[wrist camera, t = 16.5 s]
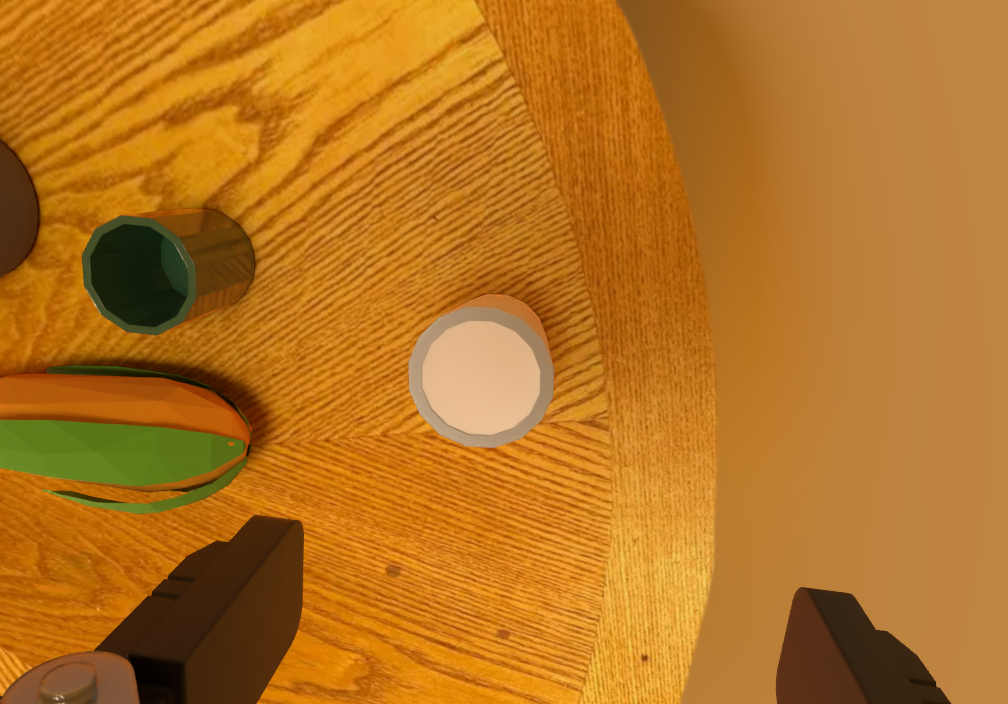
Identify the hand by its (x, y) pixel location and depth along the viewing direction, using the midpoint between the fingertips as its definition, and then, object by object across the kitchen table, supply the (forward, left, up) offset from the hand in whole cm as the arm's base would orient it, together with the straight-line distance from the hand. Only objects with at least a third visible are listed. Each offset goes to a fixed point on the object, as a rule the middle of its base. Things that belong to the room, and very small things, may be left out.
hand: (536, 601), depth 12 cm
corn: (+26, +10, -28) cm, 40 cm away
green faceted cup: (+20, 0, -28) cm, 34 cm away
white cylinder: (+3, +3, -28) cm, 29 cm away
